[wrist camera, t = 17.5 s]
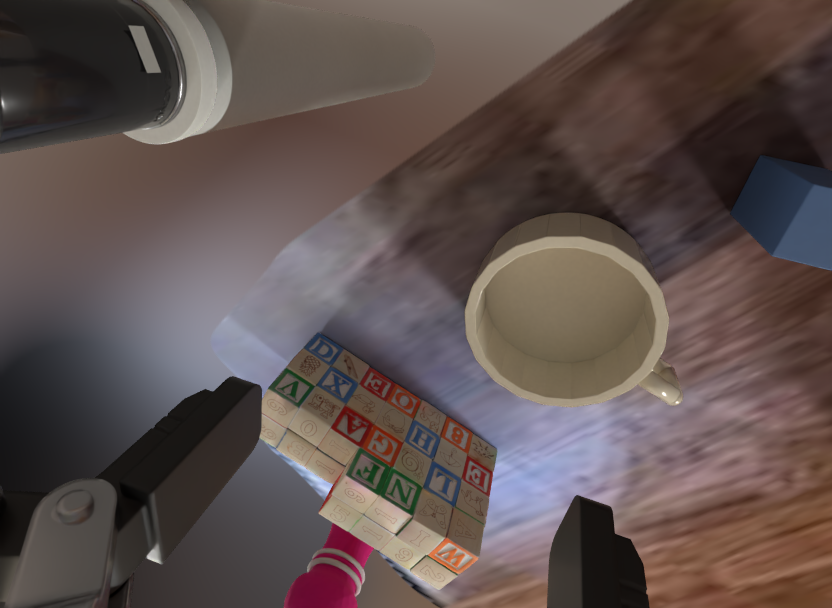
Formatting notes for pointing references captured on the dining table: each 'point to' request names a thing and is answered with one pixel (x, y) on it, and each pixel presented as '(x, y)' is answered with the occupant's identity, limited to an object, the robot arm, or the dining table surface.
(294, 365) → the stack of blocks
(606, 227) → the mug
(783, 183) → the block
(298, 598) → the pepper mill
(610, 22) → the dining table surface
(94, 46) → the robot arm
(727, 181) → the dining table surface
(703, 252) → the dining table surface
